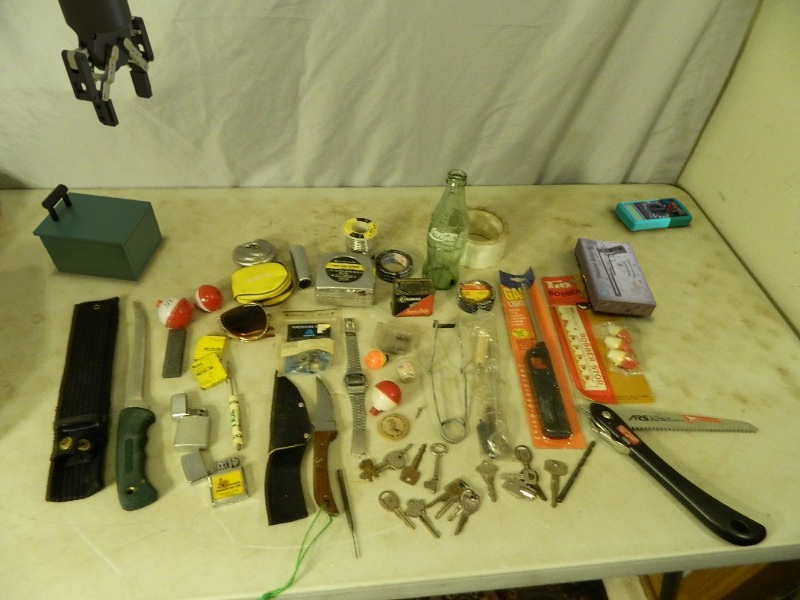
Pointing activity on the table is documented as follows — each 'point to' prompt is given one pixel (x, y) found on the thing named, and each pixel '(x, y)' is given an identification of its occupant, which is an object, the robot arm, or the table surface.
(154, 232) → the case
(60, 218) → the lid
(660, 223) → the digital multimeter
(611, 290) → the box
